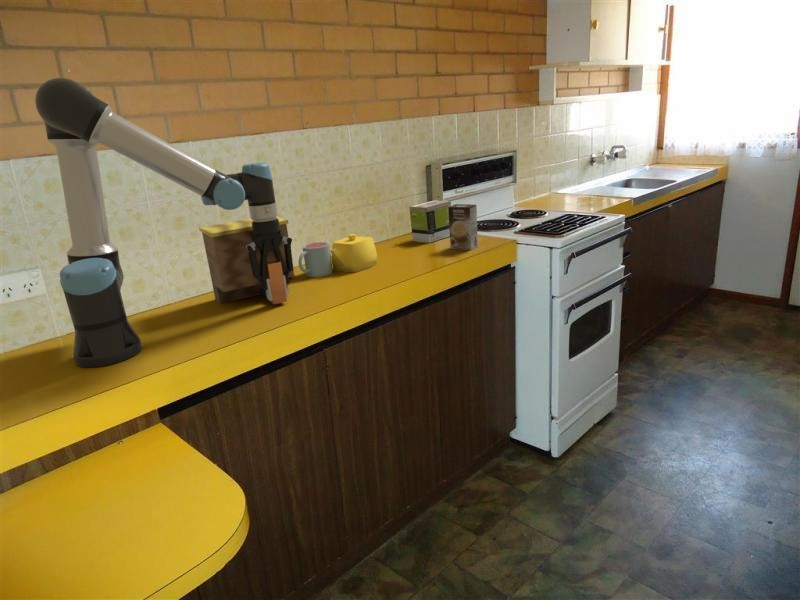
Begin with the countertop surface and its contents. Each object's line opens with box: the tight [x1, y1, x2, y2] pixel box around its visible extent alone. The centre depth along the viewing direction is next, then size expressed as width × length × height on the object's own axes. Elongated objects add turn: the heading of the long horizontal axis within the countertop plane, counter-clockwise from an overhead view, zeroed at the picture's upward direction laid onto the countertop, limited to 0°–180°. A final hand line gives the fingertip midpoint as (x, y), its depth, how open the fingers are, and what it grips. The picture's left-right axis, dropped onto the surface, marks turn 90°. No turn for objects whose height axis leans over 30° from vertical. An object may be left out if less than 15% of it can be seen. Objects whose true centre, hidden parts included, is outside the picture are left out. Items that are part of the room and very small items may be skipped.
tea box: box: [408, 199, 452, 244], centre depth 235 cm, size 15×10×15 cm
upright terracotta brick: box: [260, 260, 288, 305], centre depth 171 cm, size 4×14×12 cm, turn 32°
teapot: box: [330, 233, 378, 274], centre depth 202 cm, size 20×12×12 cm, turn 142°
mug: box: [298, 241, 334, 278], centre depth 197 cm, size 14×9×10 cm
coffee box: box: [448, 203, 479, 251], centre depth 214 cm, size 9×6×16 cm
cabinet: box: [199, 216, 295, 305], centre depth 176 cm, size 23×15×23 cm, turn 121°
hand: (277, 297), depth 169 cm, fingers closed on upright terracotta brick, 4 cm apart
